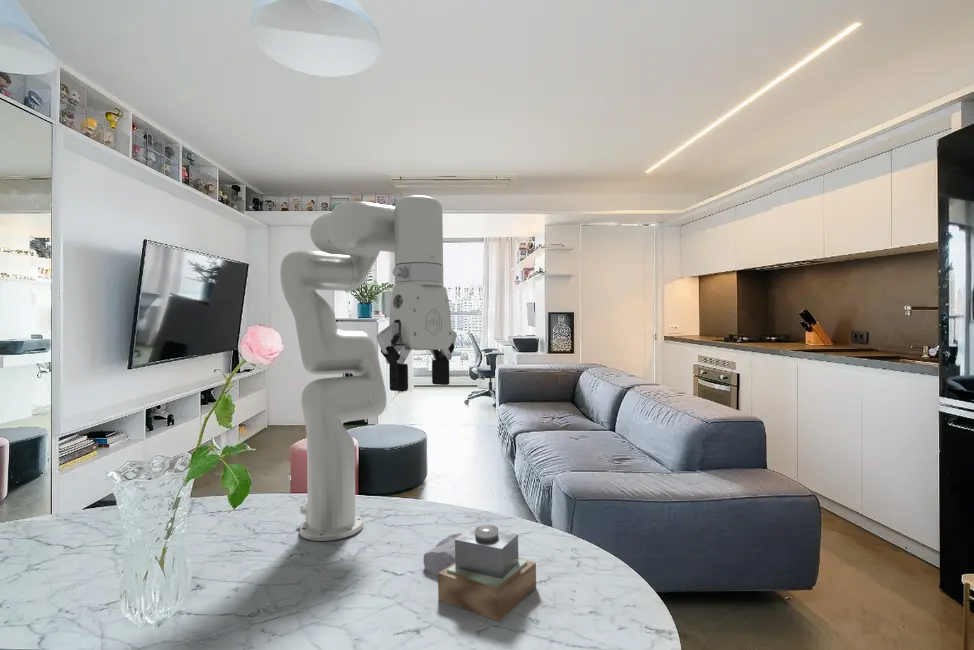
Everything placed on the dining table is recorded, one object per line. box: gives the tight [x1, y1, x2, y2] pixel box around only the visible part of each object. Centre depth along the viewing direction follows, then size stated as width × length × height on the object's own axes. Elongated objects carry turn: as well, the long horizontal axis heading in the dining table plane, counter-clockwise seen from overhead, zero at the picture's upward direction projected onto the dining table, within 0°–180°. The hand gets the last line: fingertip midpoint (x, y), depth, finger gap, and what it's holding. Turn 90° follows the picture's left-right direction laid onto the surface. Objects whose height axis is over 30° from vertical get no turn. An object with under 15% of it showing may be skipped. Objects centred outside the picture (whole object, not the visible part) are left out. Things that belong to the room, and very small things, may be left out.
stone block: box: [422, 532, 463, 576], centre depth 91 cm, size 12×5×10 cm
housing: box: [455, 524, 519, 579], centre depth 79 cm, size 6×8×6 cm
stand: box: [437, 557, 537, 622], centre depth 79 cm, size 11×11×4 cm
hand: (420, 387), depth 79 cm, fingers open, 9 cm apart
